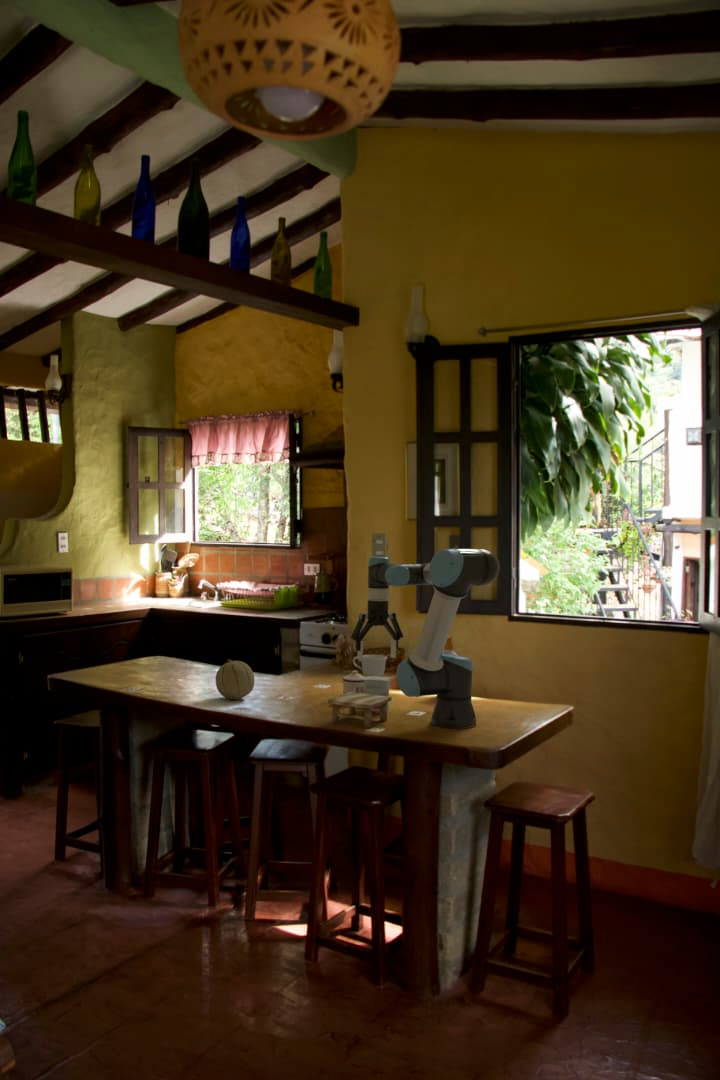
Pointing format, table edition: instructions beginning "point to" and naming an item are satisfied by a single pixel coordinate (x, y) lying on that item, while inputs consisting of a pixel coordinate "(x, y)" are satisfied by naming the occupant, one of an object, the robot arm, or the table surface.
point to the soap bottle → (449, 647)
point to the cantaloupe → (234, 680)
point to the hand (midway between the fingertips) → (376, 658)
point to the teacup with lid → (353, 683)
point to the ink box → (377, 687)
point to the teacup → (372, 665)
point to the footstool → (359, 706)
